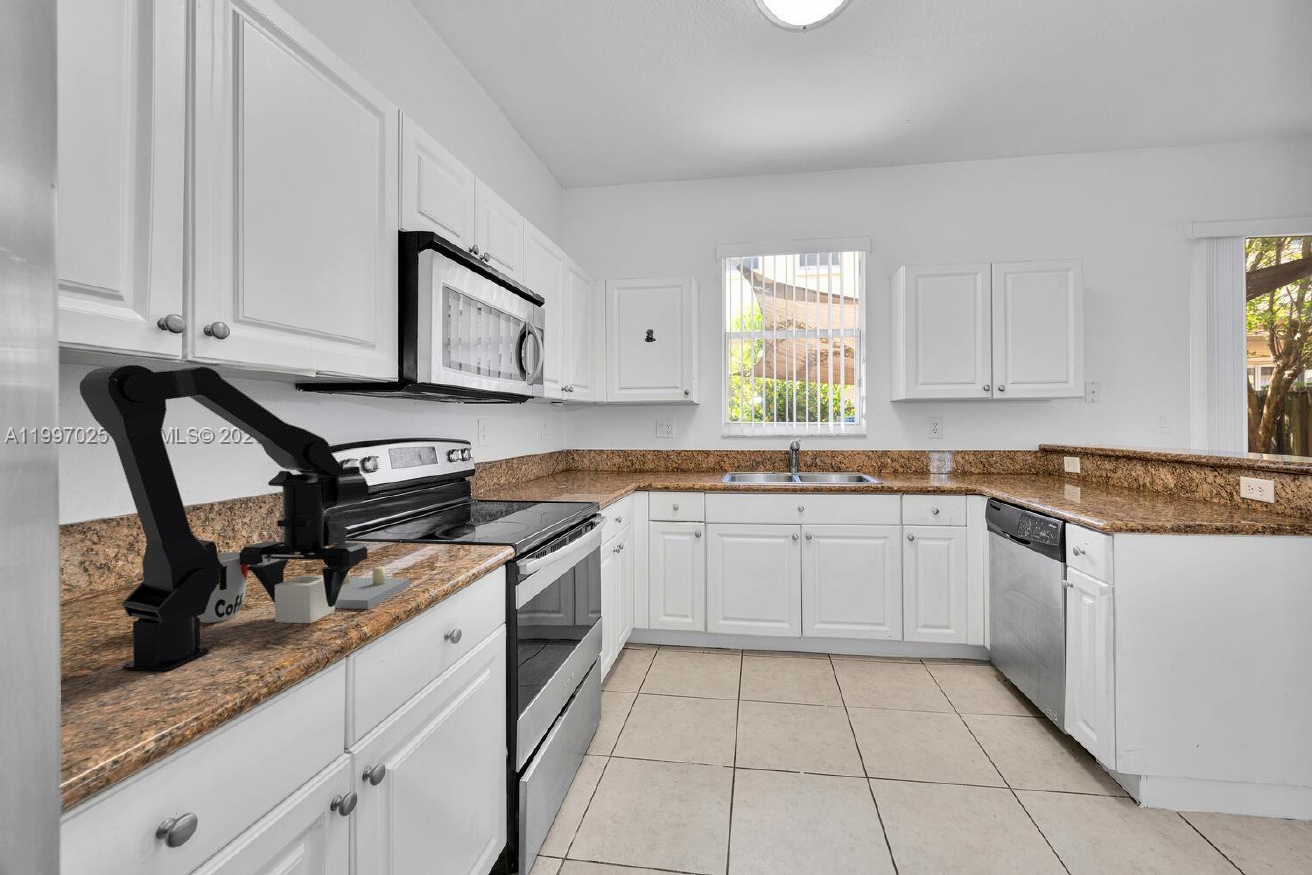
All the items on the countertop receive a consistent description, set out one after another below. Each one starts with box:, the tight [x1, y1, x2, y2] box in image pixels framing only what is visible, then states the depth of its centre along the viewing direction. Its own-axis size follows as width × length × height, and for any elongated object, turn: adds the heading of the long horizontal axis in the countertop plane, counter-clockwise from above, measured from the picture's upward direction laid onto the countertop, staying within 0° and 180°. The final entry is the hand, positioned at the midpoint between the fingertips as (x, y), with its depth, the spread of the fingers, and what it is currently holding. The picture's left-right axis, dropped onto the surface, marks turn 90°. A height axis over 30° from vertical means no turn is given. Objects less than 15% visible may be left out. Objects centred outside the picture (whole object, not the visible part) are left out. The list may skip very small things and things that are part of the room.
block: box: [274, 574, 336, 624], centre depth 94 cm, size 6×6×6 cm
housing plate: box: [335, 566, 411, 610], centre depth 106 cm, size 14×14×4 cm
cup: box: [198, 551, 249, 624], centre depth 94 cm, size 8×8×10 cm
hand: (305, 605), depth 94 cm, fingers open, 9 cm apart
